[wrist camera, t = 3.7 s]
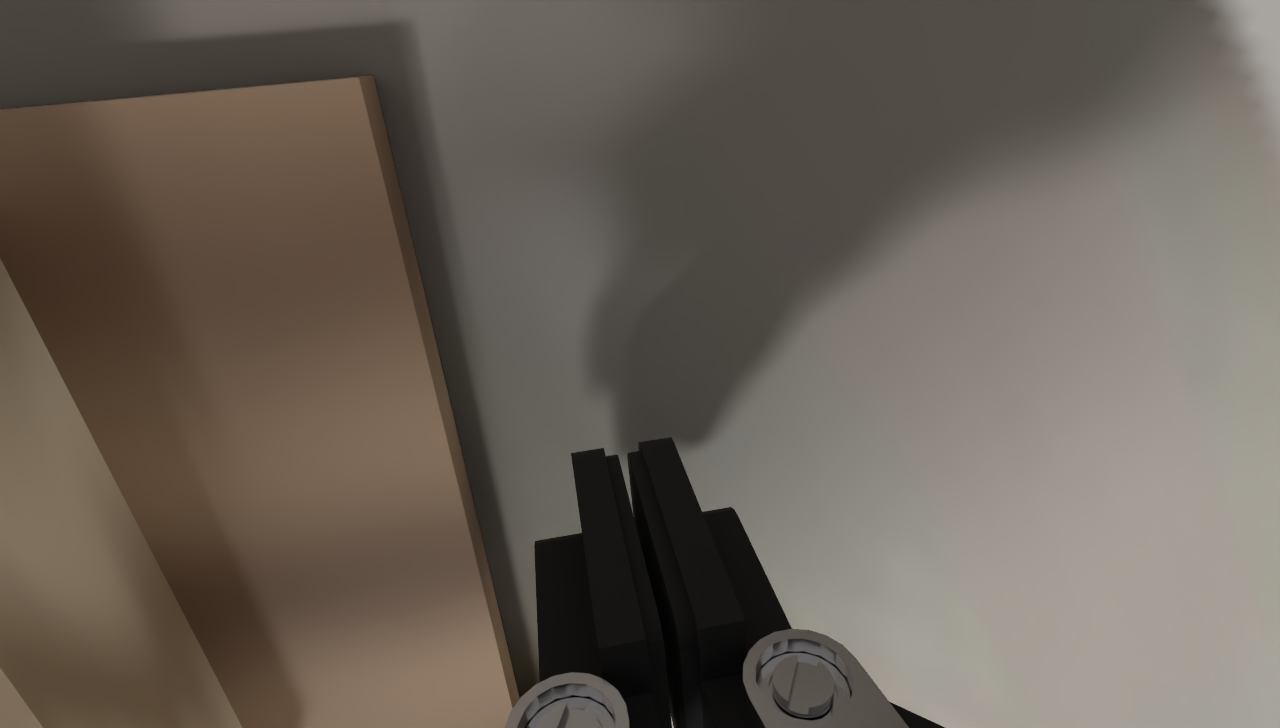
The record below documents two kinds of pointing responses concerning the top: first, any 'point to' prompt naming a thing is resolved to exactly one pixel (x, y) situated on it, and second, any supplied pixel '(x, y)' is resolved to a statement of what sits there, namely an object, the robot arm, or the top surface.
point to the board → (265, 391)
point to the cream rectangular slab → (80, 571)
